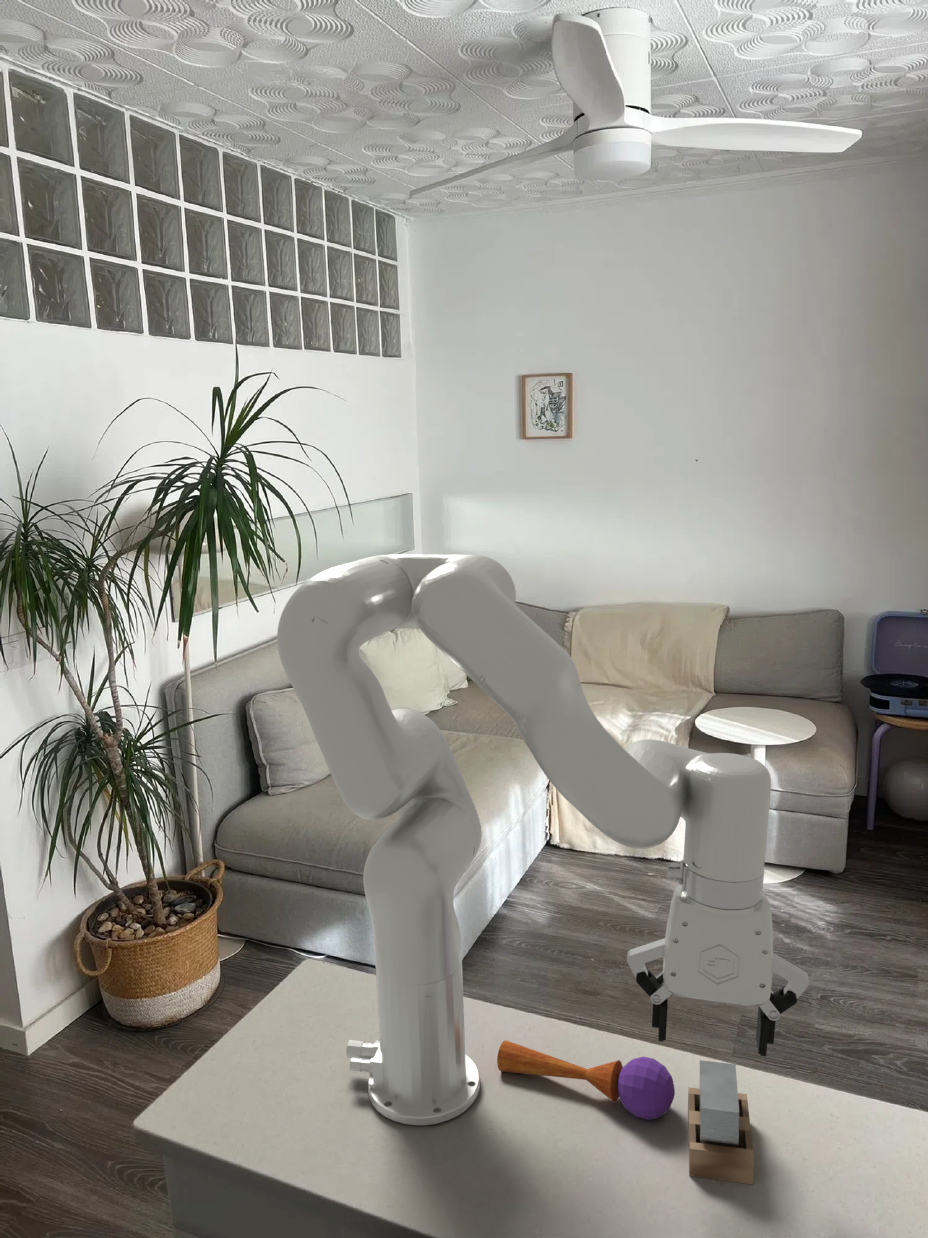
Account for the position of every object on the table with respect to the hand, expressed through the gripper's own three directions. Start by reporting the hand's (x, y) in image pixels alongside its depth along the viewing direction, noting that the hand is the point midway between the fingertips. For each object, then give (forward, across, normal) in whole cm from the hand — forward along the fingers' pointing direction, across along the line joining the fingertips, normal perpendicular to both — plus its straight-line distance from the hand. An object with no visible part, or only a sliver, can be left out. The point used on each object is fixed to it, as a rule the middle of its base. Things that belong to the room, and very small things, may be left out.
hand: (710, 1040), depth 93 cm
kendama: (+13, -13, +6) cm, 19 cm away
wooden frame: (+12, +2, 0) cm, 12 cm away
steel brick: (+12, +1, 0) cm, 12 cm away
